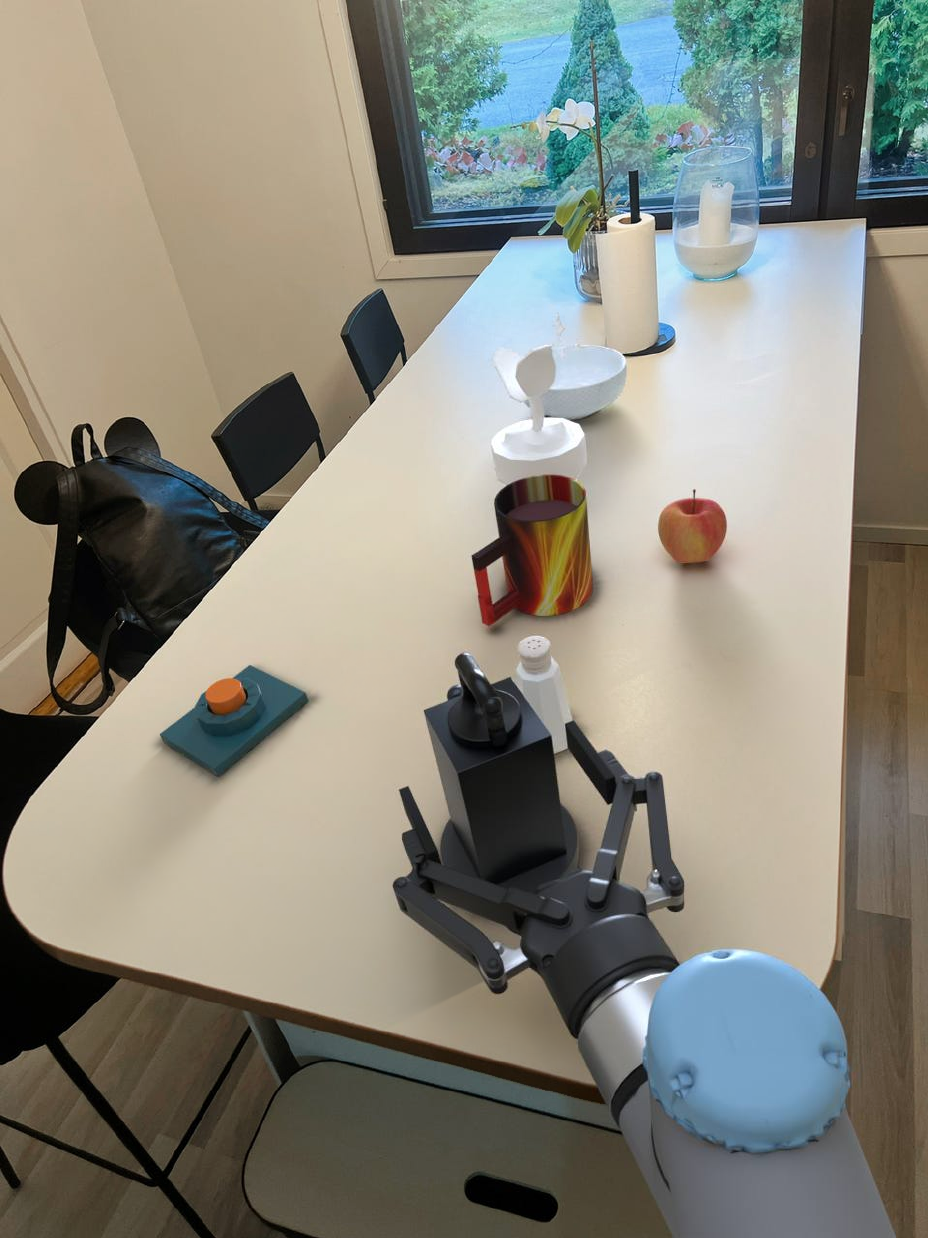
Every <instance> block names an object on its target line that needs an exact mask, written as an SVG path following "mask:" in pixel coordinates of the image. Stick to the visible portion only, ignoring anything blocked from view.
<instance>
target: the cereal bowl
mask: <svg viewBox="0 0 928 1238" xmlns="http://www.w3.org/2000/svg"><path fill="white" fill-rule="evenodd" d="M574 346H575V345H568V346H561V347H555V348H551V351H552V355H553V358H554V361H555V364H556V372H555V381H554V383H553V384H552V386H551V387H550V389H549V390H548V392H547V393H544V394H542V395H540V396H539V397H540V399H541V401H542V403H543V408H544V416H548V417H550V418H564V419H566V420H569V421H574V420H579V419H583V418H584V419H585V418H586V417H589V416H592V415H594V414H595V413H596V412H599V411H601V410H603V409H605V408H607V407H608V406H610V405H611V404H613V403H614V402H615V401H616V400H617V399H618V397H620V396H621V393H622V392H623V390H624V388H625V385H626V381H627V376H628V375H627V373H628V367H627V360H626V358H625V355H623V354H622V353H621V352H620V351H618V350H615V349H613V348H610V347H606V346H602V345H601V346H598V345H580V346H581V347H583V348H580V349H579V351H578V354H577V350H576V348H575V347H574ZM562 349H563V352H564V354H565V355H566V356H564V358H563V360H562V357H561V354H560V352H561V350H562ZM523 403H524V404H525V405H526V406H527V407H528V408H529V409H531V408H530V403H529V400H526V401H524V402H523Z"/></svg>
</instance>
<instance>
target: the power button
mask: <svg viewBox="0 0 928 1238" xmlns="http://www.w3.org/2000/svg"><path fill="white" fill-rule="evenodd" d="M205 691H206V695H205V696H206V699H207V702H208V704H209V706H210V708H211V710H212V712H213V713H215V714H217V715H226V714H229V713H232V712H234V711H237V710H238V709H239V708H240V707H242V706H243V705H244V704H245V702H246V695H245V692H244V690H243V688H242V685H241V683H240V682H239V681H238V680H237V679H234V678H233V677H226V678H222V679H219V680H216V681H215V682H213V683H212V684H211V685H209V687H208V688H207V689H206V690H205Z"/></svg>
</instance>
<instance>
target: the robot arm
mask: <svg viewBox="0 0 928 1238" xmlns="http://www.w3.org/2000/svg"><path fill="white" fill-rule="evenodd" d="M565 729H566V738H567V747H568V749H567V750H568V752H570V754H571V755H572V757H574V759H575V761H576V762H577V763H578V765H579V766H580V768H581V770H582V771H583V772H584V773H585V775H586V776H587V778H588V779H589V781H590V782H591V783H592V785H593V786H594V788H595V790H596V791H597V792H598V793H599V795H600V796H601V798H602V799H603V801H604V802H605V804H606V805H607V806H610V805H611V808H610V810H609V814H608V817H607V821H606V825H605V830H604V833H603V837H602V841H601V845H600V848H599V849H598V850H597V853H596V857H595V861H594V864H593V869H582V868H581V867H580V866H578V867H577V869H574V870H572V871H570V872H568V873H567V874H566V875H564V876H563V877H562V878H560V879H557V880H551V881H547V882H545V883H542V884H540V885H538V886H537V889H538V890H536V891H535V892H534V893H533V894H532V893H530V892H527V891H524V890H521V889H519V888H516V887H511V888H510V889H507V888H504V887H501V886H499V885H496V884H493V883H491V882H488V881H485V880H482V879H480V878H477V877H474V876H472V875H469V874H466V873H463V872H461V871H458V870H455V869H453V868H450V867H447V866H444V865H443V863H442V859H441V856H440V853H439V850H438V848H437V846H436V843H435V841H434V839H433V837H432V834H431V831H430V830H429V828H428V826H427V823H426V821H425V819H424V817H423V815H422V813H421V810H420V809H419V806H418V804H417V801H416V799H415V797H414V795H413V792H412V790H411V789H410V787H409V785H407V786H404V787H402V788H399V789H398V792H399V795H400V798H401V802H402V805H403V809H404V812H405V814H406V815H405V816H407V819H408V822H409V824H410V826H411V829H409V830H407V831H404V832H402V833H401V841H402V845H403V848H404V851H405V854H406V856H407V858H408V861H409V863H410V866H411V870H410V872H409V873H408V874H407V875H406V876H399V877H397V878H395V879H394V881H393V882H392V889H393V892H394V895H395V898H396V901H397V903H398V907H399V910H400V911H401V912H402V913H403V914H404V915H406V916H407V917H408V918H409V919H410V920H412V921H414V922H415V924H417V925H419V926H420V927H421V928H422V929H424V930H425V931H427V932H428V933H429V934H431V935H432V936H433V937H435V938H436V939H437V940H438V941H440V942H441V943H443V944H444V945H445V946H446V947H448V948H449V949H450V950H452V951H453V952H454V953H456V954H457V955H458V956H459V957H461V958H462V959H464V960H465V961H466V962H468V963H469V964H470V965H471V966H473V967H474V968H475V969H477V971H478V973H479V974H480V976H481V978H482V979H483V981H484V984H486V986H487V988H488V989H489V991H490V992H491V993H492V994H494V995H502V994H504V993H505V992H506V991H507V990H508V988H509V982H508V981H509V980H511V979H512V978H514V977H516V976H517V975H520V974H521V973H522V972H525V971H526V970H527V969H530V970H532V971H534V972H535V973H537V974H538V976H540V978H541V979H542V981H543V983H544V985H545V987H546V989H547V991H548V993H549V995H550V997H551V999H552V1000H553V1002H554V1005H555V1007H556V1008H557V1010H558V1013H559V1015H560V1017H561V1018H562V1020H563V1023H564V1024H565V1027H566V1028H567V1030H568V1032H569V1034H570V1036H571V1037H573V1038H574V1039H575V1040H577V1041H576V1042H577V1050H578V1052H579V1055H580V1056H581V1058H582V1060H583V1062H584V1064H585V1066H586V1068H587V1070H588V1072H589V1074H590V1076H591V1077H592V1081H594V1084H595V1085H596V1087H597V1089H598V1091H599V1093H600V1095H601V1097H602V1099H603V1101H604V1103H605V1104H606V1105H605V1106H606V1107H607V1109H608V1111H609V1113H610V1115H611V1116H612V1118H613V1120H614V1122H615V1123H616V1126H617V1127H618V1129H619V1131H620V1132H621V1135H622V1136H623V1138H624V1140H625V1143H626V1144H627V1146H628V1148H629V1150H630V1153H631V1154H632V1156H633V1159H634V1160H635V1162H636V1164H637V1166H638V1168H639V1170H640V1172H641V1175H642V1177H643V1179H644V1181H645V1182H646V1185H647V1186H648V1187H647V1188H648V1189H649V1191H650V1193H651V1195H652V1197H653V1199H654V1201H655V1204H656V1205H657V1207H658V1209H659V1211H660V1214H661V1215H662V1218H663V1219H664V1221H665V1223H666V1226H667V1227H668V1230H669V1231H670V1234H671V1236H672V1238H897V1236H896V1233H895V1231H894V1228H893V1224H892V1223H891V1220H890V1218H889V1215H888V1212H887V1210H886V1207H885V1205H884V1202H883V1200H882V1197H881V1195H880V1192H879V1190H878V1187H877V1185H876V1182H875V1179H874V1177H873V1174H872V1171H871V1169H870V1167H869V1164H868V1161H867V1159H866V1156H865V1153H864V1151H863V1148H862V1146H861V1143H860V1141H859V1138H858V1136H857V1133H856V1131H855V1128H854V1126H853V1123H852V1121H851V1118H850V1115H849V1113H848V1110H847V1105H846V1100H847V1097H848V1094H849V1091H850V1088H851V1081H850V1071H851V1070H850V1065H849V1062H848V1044H847V1039H846V1035H845V1031H844V1029H843V1028H844V1027H843V1025H842V1023H841V1020H840V1018H839V1016H838V1013H837V1011H836V1010H835V1008H834V1006H833V1005H832V1003H831V1002H830V1001H829V999H828V998H827V996H826V995H825V993H824V992H822V990H821V989H820V988H819V987H818V986H817V984H815V982H813V980H811V979H809V977H807V976H806V975H805V974H804V973H803V972H801V970H798V969H797V968H795V967H794V966H792V965H790V964H789V963H787V962H785V961H783V960H781V959H779V958H777V957H774V956H772V955H769V954H766V953H764V952H759V951H754V950H749V949H742V948H741V949H739V948H738V949H736V948H732V949H729V948H728V949H715V950H712V951H708V952H703V953H699V954H698V955H695V956H693V957H691V958H689V959H688V960H686V961H684V962H682V963H680V962H679V961H678V958H677V957H676V956H675V954H674V952H673V951H672V950H671V948H670V947H669V945H668V944H667V943H666V940H665V939H664V938H663V936H662V934H661V933H660V931H659V930H658V929H657V927H656V926H655V924H654V922H653V921H652V920H651V919H650V917H649V914H650V913H653V912H656V911H658V910H662V909H667V910H668V911H669V912H671V913H680V912H682V911H683V910H684V908H685V880H684V877H683V876H682V874H681V872H680V870H679V868H678V867H677V865H676V863H675V862H674V860H673V857H672V849H671V839H670V833H669V832H670V831H669V822H668V813H667V812H668V811H667V806H666V805H667V804H666V797H665V788H664V787H665V785H664V779H663V775H662V774H661V773H660V772H658V771H649V772H648V773H646V774H645V776H643V777H635V776H632V775H631V774H629V773H628V772H627V770H626V769H625V767H623V765H622V764H621V763H620V762H619V760H618V758H616V756H615V754H613V752H611V751H610V750H608V749H604V750H602V751H599V752H598V751H597V749H595V747H594V746H593V743H592V742H590V740H589V739H588V738H587V736H586V735H585V733H584V732H583V731H582V730H581V728H580V727H579V725H578V724H577V723H576V722H575V720H573V721H570V722H568V723H565ZM642 804H643V805H645V804H646V815H647V825H648V836H649V837H648V838H649V848H650V857H651V868H652V871H651V872H650V873H649V874H648V875H647V876H646V887H645V889H644V890H642V891H640V890H639V889H638V888H636V887H634V886H631V885H629V884H626V883H624V882H622V881H621V880H620V877H621V872H622V868H623V865H624V864H623V863H624V859H625V854H626V850H627V846H628V843H629V838H630V835H631V829H632V825H633V821H634V817H635V814H636V813H635V812H637V811H638V807H637V805H642ZM445 903H446V904H448V905H451V906H453V907H456V908H459V909H461V910H464V911H466V912H469V913H471V914H474V915H475V916H479V917H481V918H484V919H487V920H489V921H491V922H494V923H497V924H499V925H501V926H504V927H506V929H507V930H508V931H510V932H511V933H512V934H515V935H516V936H519V937H520V942H519V947H517V948H510V947H508V946H507V945H506V944H505V943H503V942H501V941H500V940H494V941H493V942H492V941H491V940H490V939H489V937H488V936H487V935H486V934H485V933H484V932H483V931H481V930H480V929H479V928H477V926H475V925H474V924H472V923H471V922H469V921H468V920H466V919H465V917H462V916H461V915H459V914H458V913H457V912H455V910H453V909H451V908H450V907H448V905H446V904H445Z"/></svg>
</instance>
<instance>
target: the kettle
mask: <svg viewBox="0 0 928 1238" xmlns="http://www.w3.org/2000/svg"><path fill="white" fill-rule="evenodd" d="M454 666H455V669H456V670H457V674H458V679H459V684H454V685H452V686H451V687H450V688H448V691H447V693H446V699H447V700H446V701H444V702H441V703H438V704H436V705H433V706H430V707H428V708H425V709H423V714H424V718H425V722H426V726H427V730H428V731H427V732H428V734H429V738H430V742H431V746H432V751H433V754H434V757H435V763H436V766H437V770H438V775H439V779H440V782H441V786H442V790H443V794H444V798H445V803H446V806H447V810H448V814H449V819H450V818H451V822H452V825H453V827H454V829H455V831H456V833H457V835H458V837H459V839H460V841H461V843H462V845H463V847H464V849H465V851H466V853H467V856H468V858H469V860H470V862H471V864H472V866H473V868H474V870H475V872H476V874H477V876H478V878H480V879H482V880H485V881H488V882H491V883H493V884H498V883H500V882H502V881H505V880H507V879H509V878H512V877H514V876H516V875H518V874H521V873H523V872H525V871H528V870H530V869H532V868H535V867H537V866H539V865H541V864H544V863H546V862H548V861H551V860H553V859H555V858H557V857H560V856H562V855H564V854H567V849H566V842H565V834H564V826H563V819H562V811H561V804H562V803H561V797H560V796H561V795H560V790H559V782H558V774H557V765H556V758H555V754H554V750H553V742H552V735H551V734H550V732H549V731H548V729H547V728H546V727H545V725H544V724H543V722H542V721H541V719H540V718H539V717H538V715H537V714H536V712H535V711H534V710H533V708H532V707H531V705H530V704H529V702H528V701H527V700H526V698H525V697H524V695H523V694H522V692H521V691H520V690H519V688H518V687H517V685H516V681H514V679H513V678H512V676H509V677H506V678H503V679H501V680H498V681H496V682H492V683H491V682H490V681H489V679H488V678H487V676H486V674H485V673H484V672H483V670H482V668H481V667H480V665H479V664H478V663H477V661H476V659H475V658H474V657H473V655H471V654H470V653H468V652H461V653H459V654H457V655H456V657H455V659H454ZM560 803H561V804H560Z"/></svg>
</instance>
